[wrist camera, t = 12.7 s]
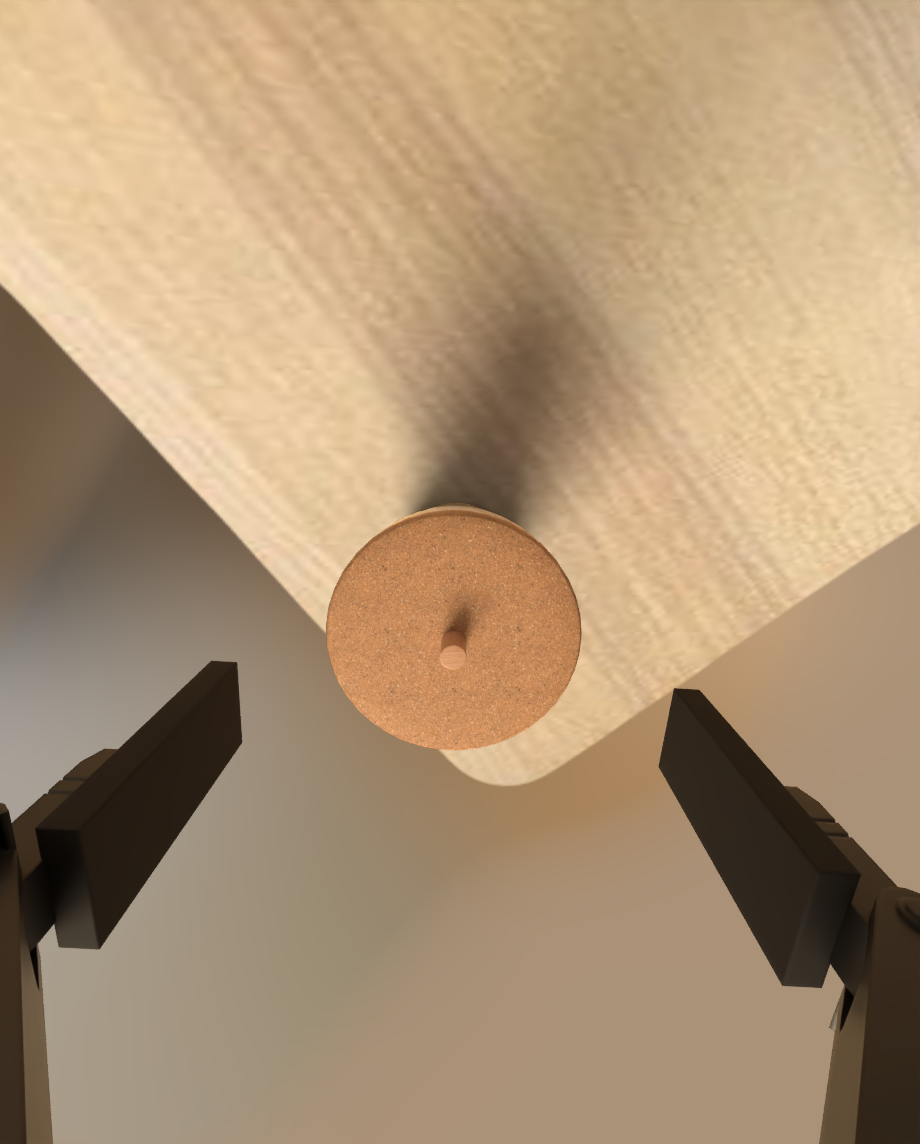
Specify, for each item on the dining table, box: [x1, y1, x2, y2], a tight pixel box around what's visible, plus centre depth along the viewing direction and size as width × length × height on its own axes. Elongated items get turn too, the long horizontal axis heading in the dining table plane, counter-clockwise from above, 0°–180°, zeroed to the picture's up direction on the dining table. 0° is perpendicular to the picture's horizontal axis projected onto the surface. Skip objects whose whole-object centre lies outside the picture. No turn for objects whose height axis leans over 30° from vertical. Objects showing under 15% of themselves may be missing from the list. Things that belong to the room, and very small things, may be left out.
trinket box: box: [326, 506, 582, 750], centre depth 25 cm, size 11×11×9 cm
